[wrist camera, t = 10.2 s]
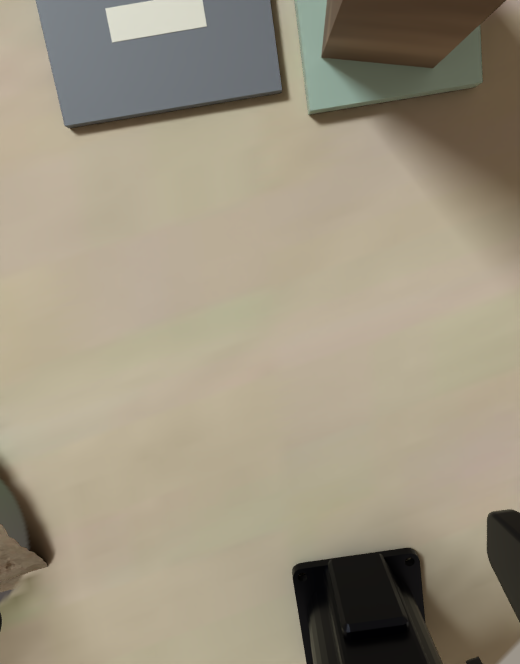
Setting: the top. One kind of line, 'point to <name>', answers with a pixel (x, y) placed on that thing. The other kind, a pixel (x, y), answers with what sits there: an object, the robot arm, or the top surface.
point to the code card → (157, 55)
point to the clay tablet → (15, 561)
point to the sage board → (375, 69)
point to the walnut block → (400, 29)
